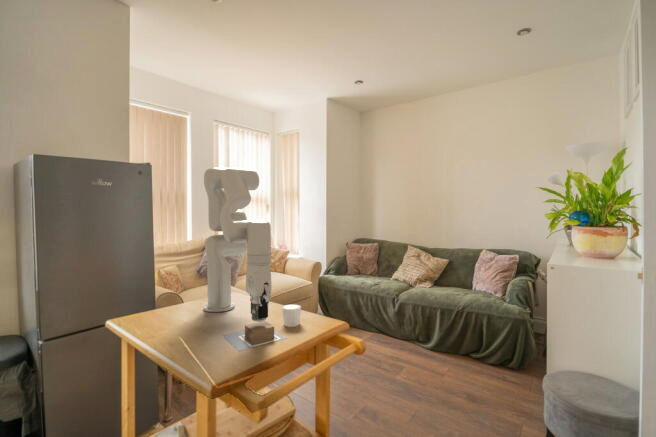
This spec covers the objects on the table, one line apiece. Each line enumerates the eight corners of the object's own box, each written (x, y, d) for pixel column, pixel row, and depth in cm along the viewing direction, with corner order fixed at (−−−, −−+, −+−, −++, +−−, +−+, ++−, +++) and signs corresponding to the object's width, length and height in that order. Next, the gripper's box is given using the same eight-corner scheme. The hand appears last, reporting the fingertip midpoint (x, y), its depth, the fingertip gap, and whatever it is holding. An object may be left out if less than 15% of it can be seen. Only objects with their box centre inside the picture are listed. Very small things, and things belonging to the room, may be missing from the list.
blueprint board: (221, 337, 105) (221, 335, 105) (266, 326, 114) (266, 324, 114) (239, 353, 93) (239, 350, 93) (286, 340, 102) (286, 337, 102)
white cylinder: (300, 329, 112) (300, 309, 112) (280, 329, 112) (280, 309, 112) (301, 322, 119) (301, 303, 119) (283, 322, 119) (283, 303, 119)
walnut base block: (244, 337, 103) (244, 325, 103) (264, 332, 108) (264, 320, 107) (253, 344, 98) (253, 331, 98) (274, 338, 102) (274, 326, 102)
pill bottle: (251, 317, 104) (251, 292, 104) (266, 316, 105) (266, 291, 105) (251, 322, 100) (251, 295, 100) (267, 321, 101) (267, 294, 101)
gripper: (237, 257, 107) (238, 311, 107) (259, 263, 93) (259, 325, 94) (258, 255, 111) (258, 307, 112) (282, 261, 98) (282, 320, 98)
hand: (259, 315), depth 103 cm, fingers closed on pill bottle, 4 cm apart
